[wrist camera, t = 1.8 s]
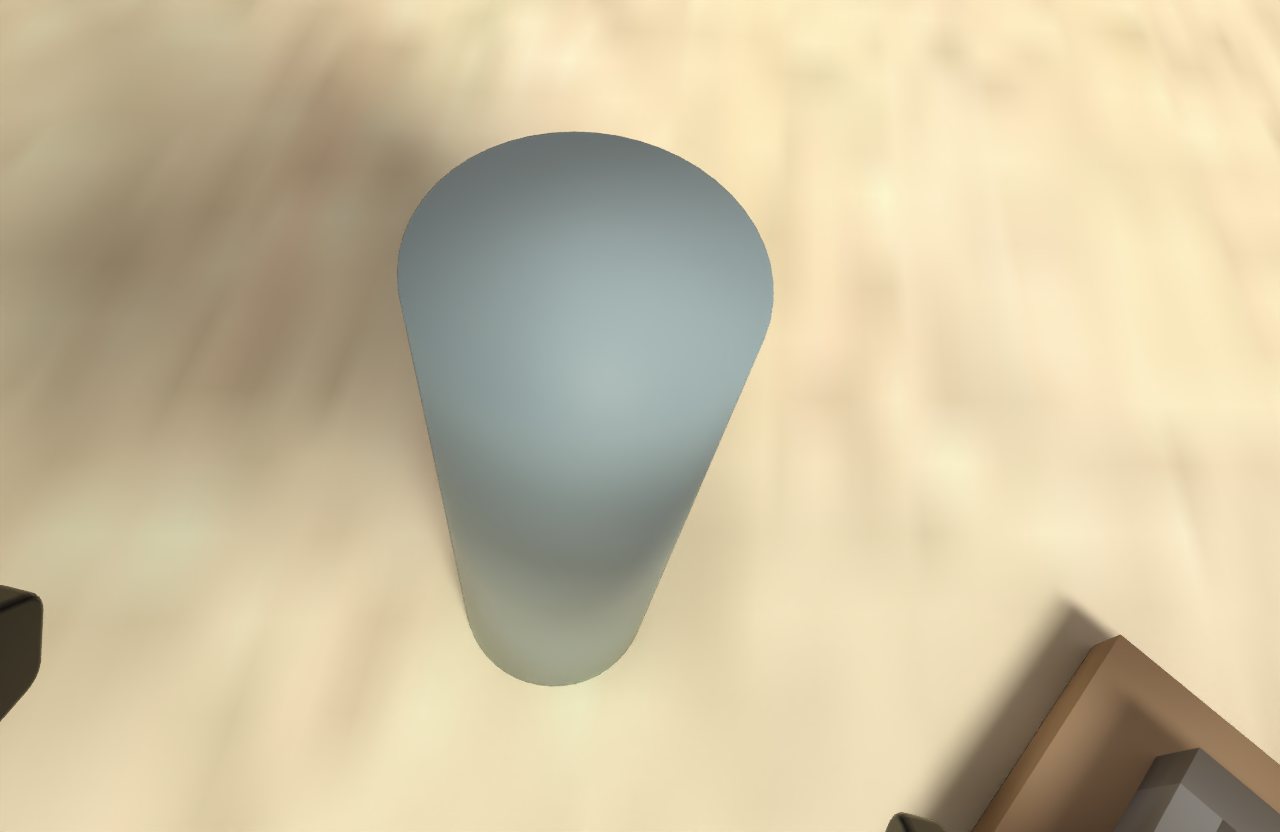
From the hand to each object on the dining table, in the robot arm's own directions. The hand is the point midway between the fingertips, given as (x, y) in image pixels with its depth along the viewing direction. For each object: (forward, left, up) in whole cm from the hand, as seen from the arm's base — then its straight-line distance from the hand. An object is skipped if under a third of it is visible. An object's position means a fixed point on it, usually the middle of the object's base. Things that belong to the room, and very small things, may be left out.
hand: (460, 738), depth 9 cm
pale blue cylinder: (+2, +5, -12) cm, 13 cm away
